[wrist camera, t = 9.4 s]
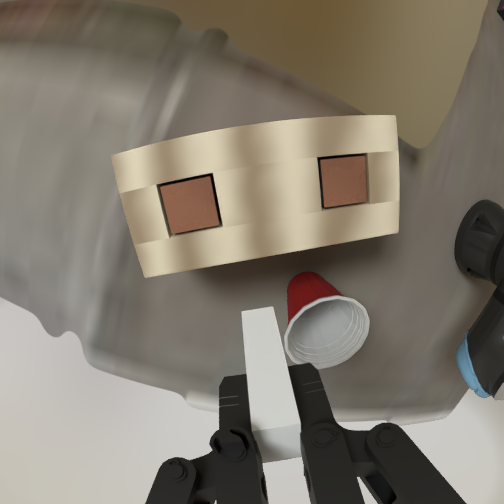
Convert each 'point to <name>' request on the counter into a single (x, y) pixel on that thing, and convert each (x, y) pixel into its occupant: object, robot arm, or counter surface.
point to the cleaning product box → (501, 9)
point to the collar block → (260, 190)
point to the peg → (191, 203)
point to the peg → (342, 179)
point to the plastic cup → (322, 323)
